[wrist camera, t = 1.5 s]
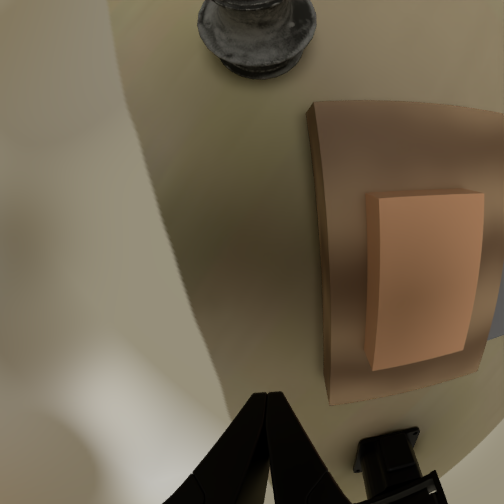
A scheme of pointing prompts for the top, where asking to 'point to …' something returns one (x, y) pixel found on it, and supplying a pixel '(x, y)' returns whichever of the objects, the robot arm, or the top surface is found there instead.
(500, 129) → the board
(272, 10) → the dark grey chess piece
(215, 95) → the top surface
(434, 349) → the tile
